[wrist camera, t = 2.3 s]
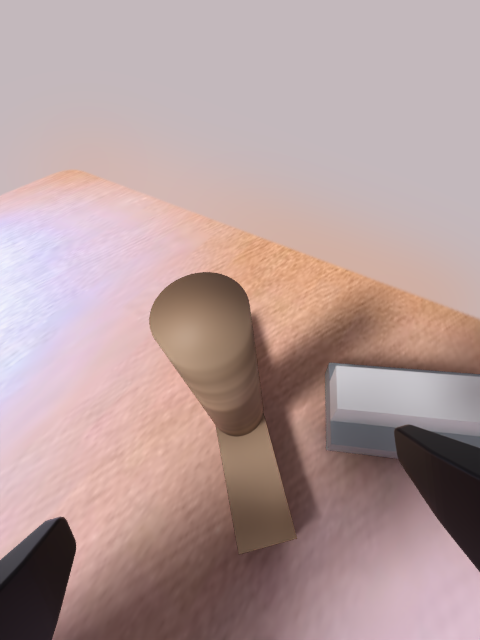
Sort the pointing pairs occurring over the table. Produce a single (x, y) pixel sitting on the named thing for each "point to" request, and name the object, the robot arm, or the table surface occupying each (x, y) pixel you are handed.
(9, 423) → the table surface
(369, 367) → the ridge block
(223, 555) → the table surface
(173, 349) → the t bar
